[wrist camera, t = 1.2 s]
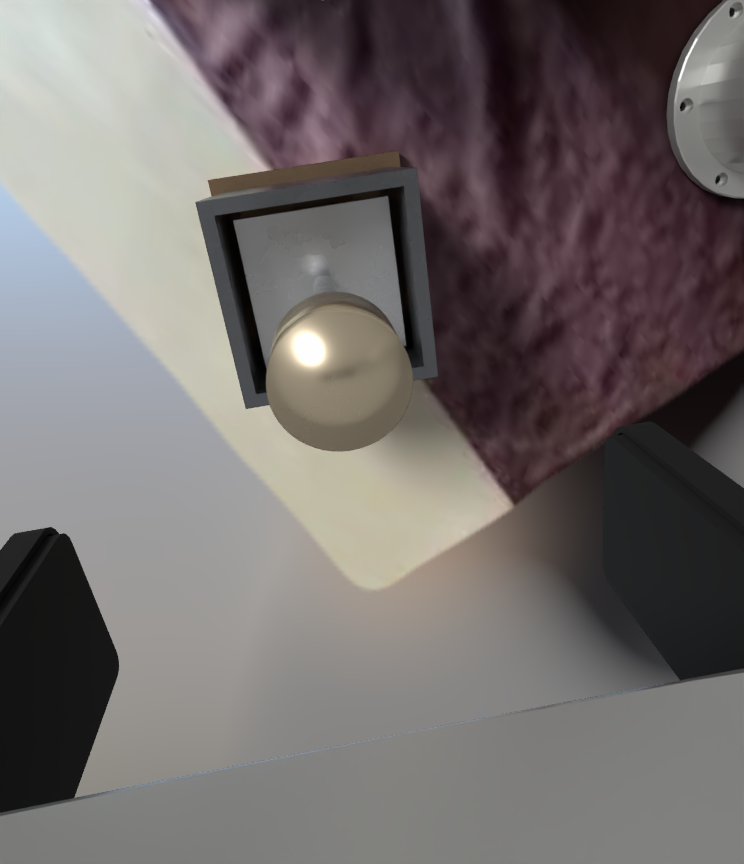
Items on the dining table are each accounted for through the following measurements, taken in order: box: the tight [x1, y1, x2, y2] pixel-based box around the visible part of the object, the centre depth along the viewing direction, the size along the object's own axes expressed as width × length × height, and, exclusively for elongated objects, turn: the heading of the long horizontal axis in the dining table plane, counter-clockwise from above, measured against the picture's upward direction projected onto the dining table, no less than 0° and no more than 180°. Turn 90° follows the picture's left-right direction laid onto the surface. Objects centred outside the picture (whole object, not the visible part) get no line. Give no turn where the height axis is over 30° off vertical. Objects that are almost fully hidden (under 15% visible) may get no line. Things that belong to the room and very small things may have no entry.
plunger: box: [233, 195, 413, 451], centre depth 26 cm, size 8×8×17 cm
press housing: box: [195, 151, 438, 409], centre depth 36 cm, size 12×12×12 cm
